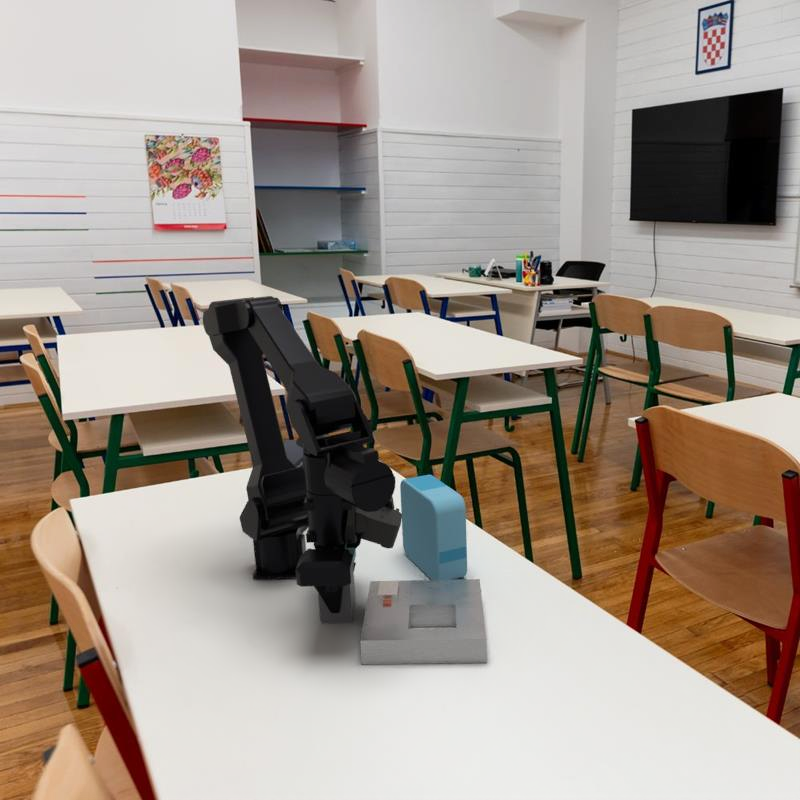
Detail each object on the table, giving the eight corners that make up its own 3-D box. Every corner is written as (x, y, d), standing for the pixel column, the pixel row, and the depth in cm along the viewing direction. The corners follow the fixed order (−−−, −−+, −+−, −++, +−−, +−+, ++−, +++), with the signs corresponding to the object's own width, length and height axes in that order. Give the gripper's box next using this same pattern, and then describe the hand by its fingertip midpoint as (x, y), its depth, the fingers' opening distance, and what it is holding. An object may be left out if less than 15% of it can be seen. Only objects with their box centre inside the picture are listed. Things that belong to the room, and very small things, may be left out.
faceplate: (361, 664, 87) (360, 635, 86) (371, 602, 101) (370, 576, 100) (487, 662, 86) (486, 633, 85) (480, 600, 100) (479, 574, 99)
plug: (316, 625, 96) (312, 565, 94) (322, 605, 100) (317, 548, 98) (355, 624, 95) (351, 564, 93) (359, 604, 100) (355, 547, 98)
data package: (468, 580, 105) (466, 497, 102) (438, 588, 104) (435, 504, 101) (430, 547, 116) (427, 471, 113) (402, 553, 114) (399, 476, 111)
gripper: (391, 515, 84) (397, 643, 88) (399, 460, 102) (404, 568, 106) (290, 518, 85) (300, 645, 89) (315, 462, 103) (323, 570, 107)
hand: (337, 603), depth 97 cm, fingers closed on plug, 4 cm apart
